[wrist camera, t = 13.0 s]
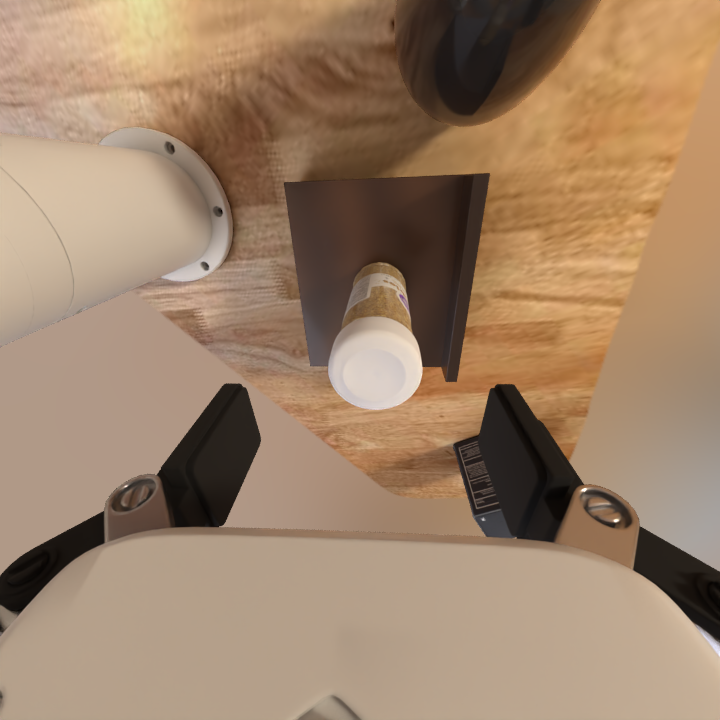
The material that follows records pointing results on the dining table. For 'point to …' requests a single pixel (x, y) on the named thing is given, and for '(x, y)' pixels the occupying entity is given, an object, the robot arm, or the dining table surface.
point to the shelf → (389, 253)
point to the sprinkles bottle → (376, 342)
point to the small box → (480, 490)
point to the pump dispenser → (482, 52)
